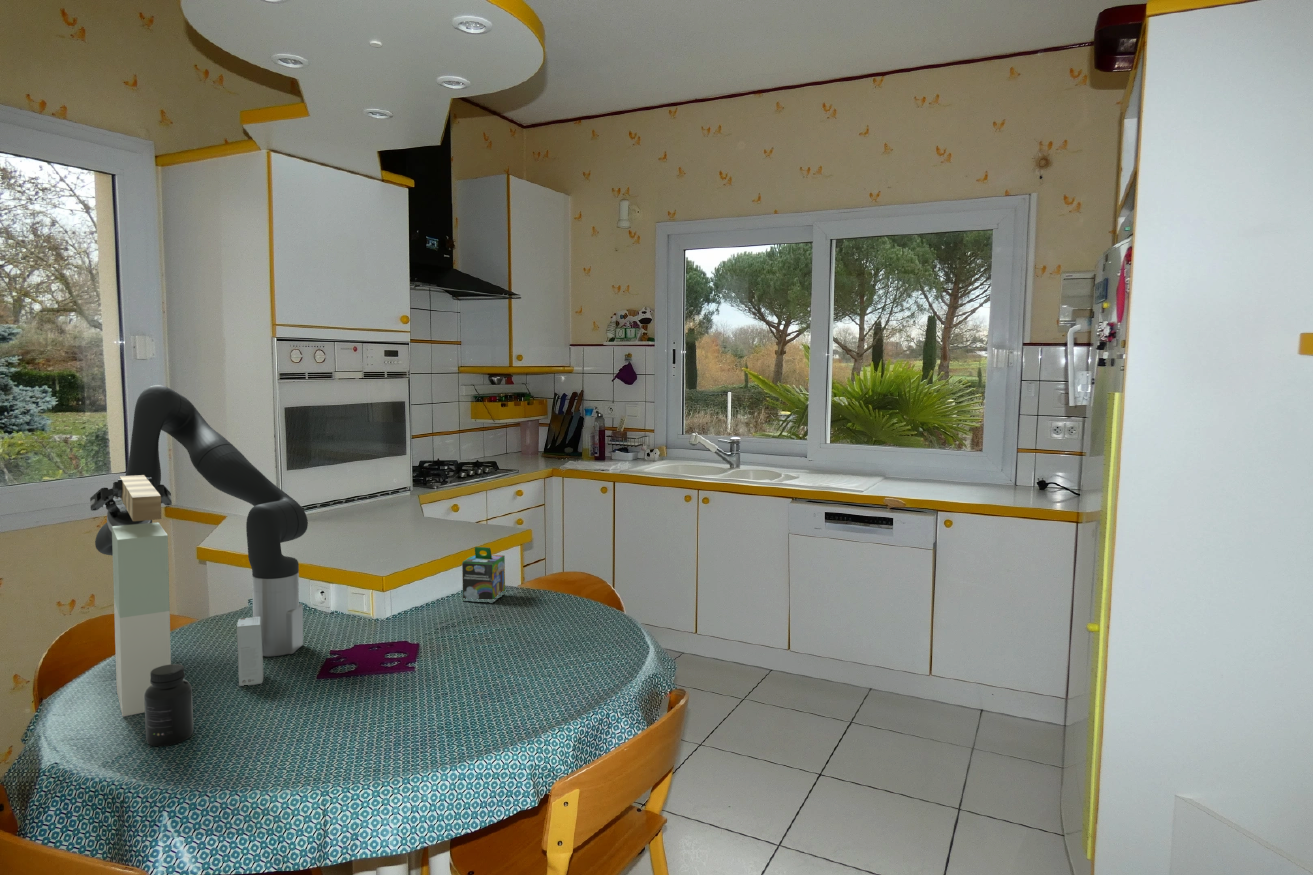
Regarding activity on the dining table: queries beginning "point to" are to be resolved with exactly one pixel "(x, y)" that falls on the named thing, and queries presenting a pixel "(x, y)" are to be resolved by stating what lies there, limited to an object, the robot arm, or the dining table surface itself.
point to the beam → (140, 498)
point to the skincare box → (250, 651)
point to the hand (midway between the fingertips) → (135, 483)
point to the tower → (140, 609)
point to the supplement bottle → (168, 706)
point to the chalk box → (483, 575)
